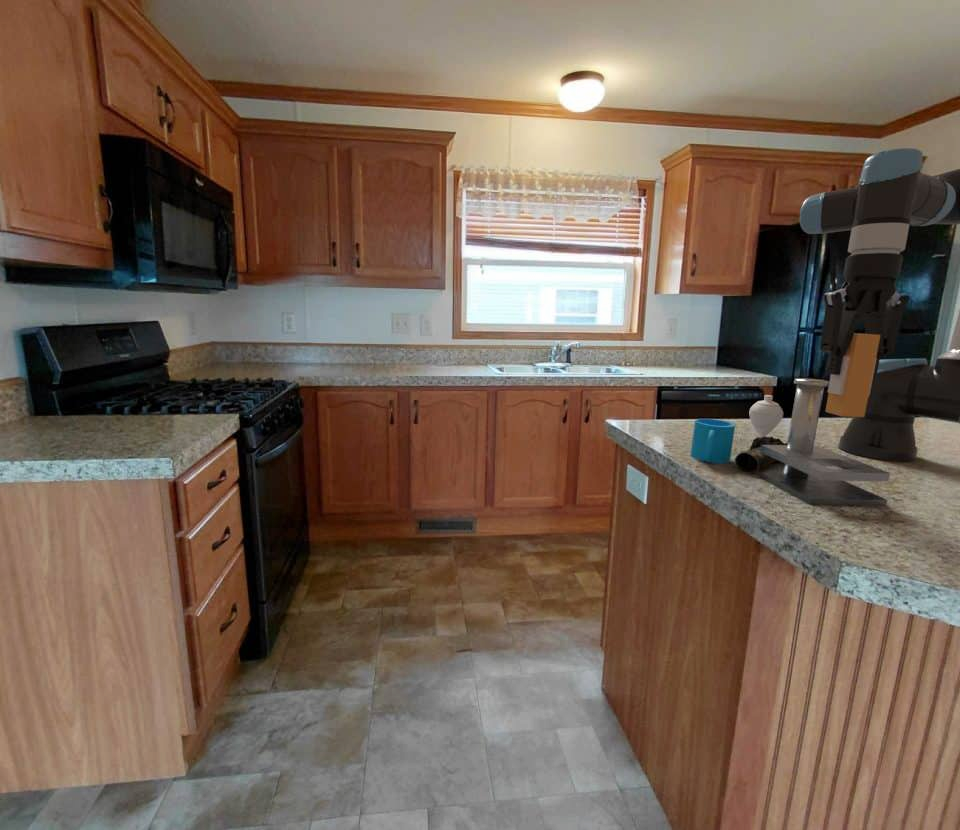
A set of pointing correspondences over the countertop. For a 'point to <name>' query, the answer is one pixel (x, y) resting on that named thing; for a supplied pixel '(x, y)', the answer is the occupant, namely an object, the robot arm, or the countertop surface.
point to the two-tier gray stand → (817, 459)
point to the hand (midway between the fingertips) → (848, 393)
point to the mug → (712, 440)
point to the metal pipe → (757, 455)
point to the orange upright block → (856, 377)
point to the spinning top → (765, 415)
